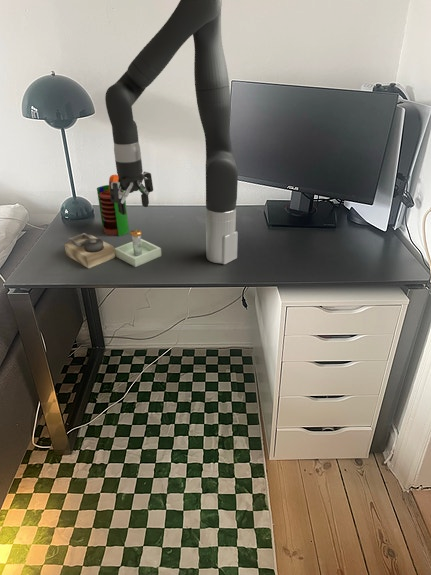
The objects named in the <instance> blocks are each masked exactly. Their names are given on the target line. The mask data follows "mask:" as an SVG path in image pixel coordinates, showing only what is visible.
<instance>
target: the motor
mask: <svg viewBox="0 0 431 575" xmlns="http://www.w3.org/2000/svg"><path fill="white" fill-rule="evenodd" d="M118 179H119V177H118V174H112V175H110V176H109V180H108V184H106V185H101V186H98V187H97V188H96V191H97V199H98V205H99V211H100V219H101V225H102V230H103V232H104V234H105V235H107V236H118V237H121V236H124V235H126V234H128V233H129V231H130V228H129V218H128V209H127V203H126V202H127V200H126V199H125V201H124V203H125V209H126V214H125V215H122V214H121V213H119V211H118V204H117V203H115V202H112V201H111V197H110V186H109V183H110V182H117V181H118ZM119 189H120V186H119ZM119 189H118V191H119ZM124 192H125V191H124V190H123V193H124Z"/></svg>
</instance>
